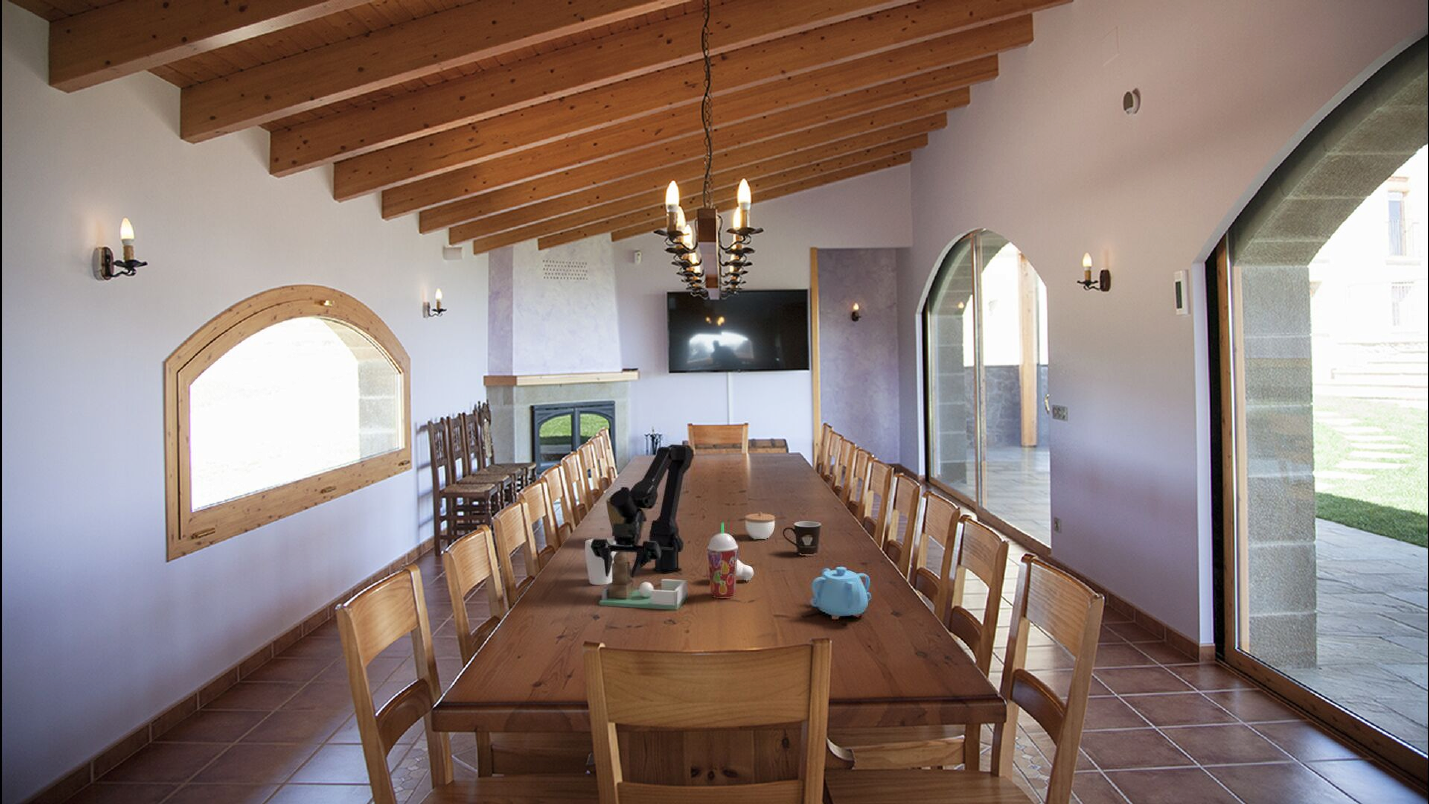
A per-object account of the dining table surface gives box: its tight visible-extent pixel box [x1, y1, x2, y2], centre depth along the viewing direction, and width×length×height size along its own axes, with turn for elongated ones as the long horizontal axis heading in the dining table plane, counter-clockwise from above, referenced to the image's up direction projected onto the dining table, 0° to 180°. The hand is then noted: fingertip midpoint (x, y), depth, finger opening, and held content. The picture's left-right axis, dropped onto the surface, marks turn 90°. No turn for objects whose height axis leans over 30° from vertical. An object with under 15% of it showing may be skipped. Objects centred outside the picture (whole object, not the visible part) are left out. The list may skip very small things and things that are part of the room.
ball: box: [638, 581, 655, 597], centre depth 214 cm, size 4×4×4 cm
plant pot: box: [605, 496, 649, 544], centre depth 279 cm, size 15×15×16 cm
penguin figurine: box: [736, 558, 754, 582], centre depth 232 cm, size 6×8×12 cm
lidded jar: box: [744, 511, 776, 540], centre depth 286 cm, size 11×11×9 cm
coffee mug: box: [782, 520, 822, 554], centre depth 263 cm, size 12×9×10 cm
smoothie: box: [707, 522, 739, 598], centre depth 218 cm, size 8×8×20 cm
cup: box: [584, 537, 617, 586], centre depth 232 cm, size 9×9×12 cm
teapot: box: [809, 566, 872, 617], centre depth 203 cm, size 20×17×12 cm
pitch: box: [599, 578, 689, 611], centre depth 214 cm, size 21×12×4 cm, turn 78°
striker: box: [608, 552, 635, 598], centre depth 215 cm, size 5×6×12 cm
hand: (619, 576), depth 214 cm, fingers open, 7 cm apart
